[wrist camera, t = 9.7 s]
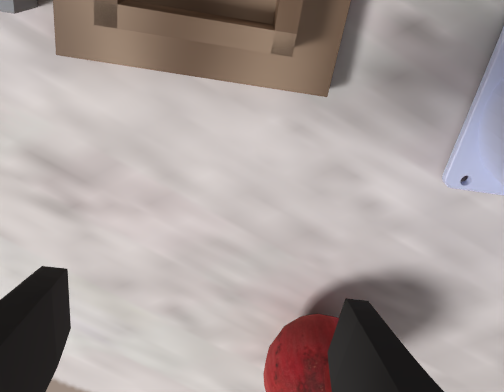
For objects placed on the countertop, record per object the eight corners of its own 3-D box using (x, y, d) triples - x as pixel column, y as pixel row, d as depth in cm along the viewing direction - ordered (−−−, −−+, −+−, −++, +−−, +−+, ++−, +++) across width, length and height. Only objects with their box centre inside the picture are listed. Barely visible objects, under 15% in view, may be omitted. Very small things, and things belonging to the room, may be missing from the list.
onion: (252, 293, 25) (253, 428, 18) (354, 274, 24) (397, 406, 17) (273, 362, 28) (282, 502, 21) (365, 347, 27) (406, 485, 20)
